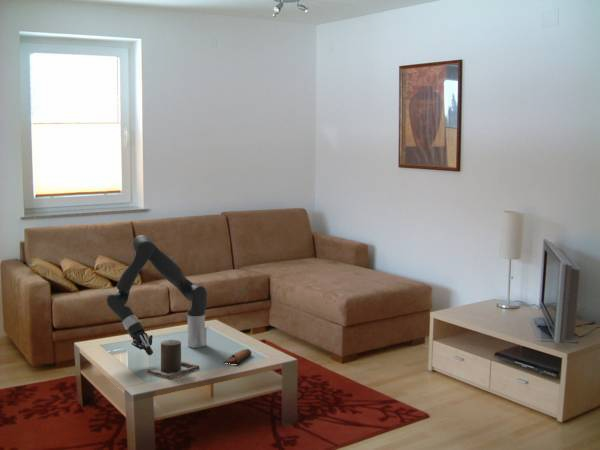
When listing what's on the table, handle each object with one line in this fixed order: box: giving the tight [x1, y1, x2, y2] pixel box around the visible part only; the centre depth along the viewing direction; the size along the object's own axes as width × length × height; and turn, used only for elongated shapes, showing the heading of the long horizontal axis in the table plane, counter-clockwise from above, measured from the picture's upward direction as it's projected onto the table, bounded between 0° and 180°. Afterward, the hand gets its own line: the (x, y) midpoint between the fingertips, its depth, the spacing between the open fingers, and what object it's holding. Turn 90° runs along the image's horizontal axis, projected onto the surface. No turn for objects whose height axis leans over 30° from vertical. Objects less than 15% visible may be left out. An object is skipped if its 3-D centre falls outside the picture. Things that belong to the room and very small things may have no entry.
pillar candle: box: [160, 339, 182, 374], centre depth 343 cm, size 10×10×15 cm
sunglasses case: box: [222, 348, 252, 365], centre depth 360 cm, size 18×7×7 cm, turn 161°
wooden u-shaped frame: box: [146, 360, 200, 380], centre depth 343 cm, size 16×19×2 cm
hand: (151, 354), depth 351 cm, fingers closed
